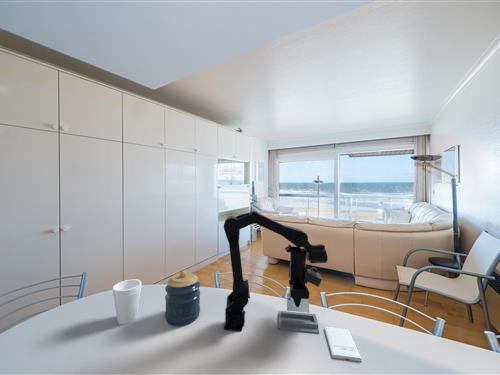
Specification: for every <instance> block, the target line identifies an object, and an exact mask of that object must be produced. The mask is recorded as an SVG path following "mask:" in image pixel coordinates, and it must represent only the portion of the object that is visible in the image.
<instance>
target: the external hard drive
mask: <svg viewBox="0 0 500 375" xmlns="http://www.w3.org/2000/svg"><path fill="white" fill-rule="evenodd" d="M323 330H324V334H325V336H326V341H327V343H328V347H329V351H330V353H331V354H330V355H331V358H332V359H333V358H334V359H339V360H349V361H355V362H362V359H363V358H362V357H361V354H360V352H359V350H358V348H357V345H356V343H355V340H354V338H353V337H352V334H351V332H350V330H349V329H347V328H340V327H339V328H338V327H332V326H331V327H330V326H324V329H323Z"/></svg>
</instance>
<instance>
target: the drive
mask: <svg viewBox="0 0 500 375" xmlns="http://www.w3.org/2000/svg"><path fill="white" fill-rule="evenodd" d="M286 312H297V313H307V314H310V298H309V299H301V302H300V306H299V307H296V305H295V303H294V300H293V298H292V297H290V293H287V294H286Z"/></svg>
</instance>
